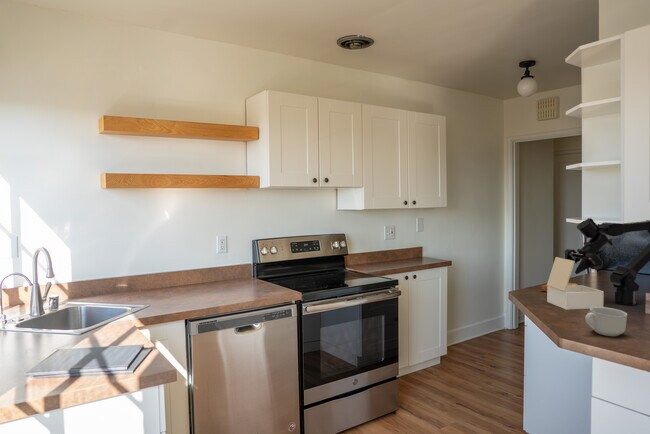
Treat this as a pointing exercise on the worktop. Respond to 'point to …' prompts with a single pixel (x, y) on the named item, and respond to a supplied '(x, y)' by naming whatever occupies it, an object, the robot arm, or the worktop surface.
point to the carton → (575, 297)
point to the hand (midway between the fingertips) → (569, 271)
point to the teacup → (606, 321)
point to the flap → (560, 273)
